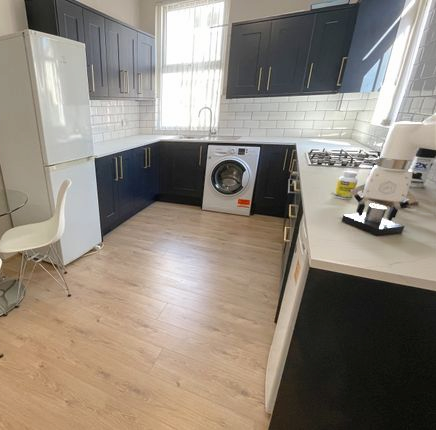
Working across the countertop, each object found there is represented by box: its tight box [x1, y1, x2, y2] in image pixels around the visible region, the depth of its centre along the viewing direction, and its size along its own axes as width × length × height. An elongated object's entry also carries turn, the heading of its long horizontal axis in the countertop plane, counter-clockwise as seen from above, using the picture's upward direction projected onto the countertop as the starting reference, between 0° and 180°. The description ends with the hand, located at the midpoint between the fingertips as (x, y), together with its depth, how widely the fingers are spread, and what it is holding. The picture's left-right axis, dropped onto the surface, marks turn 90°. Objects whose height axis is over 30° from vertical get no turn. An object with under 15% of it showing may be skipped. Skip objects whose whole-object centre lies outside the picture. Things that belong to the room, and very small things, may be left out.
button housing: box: [367, 197, 420, 209], centre depth 116 cm, size 12×10×4 cm
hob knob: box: [364, 203, 388, 223], centre depth 93 cm, size 4×4×5 cm
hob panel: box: [340, 212, 405, 237], centre depth 94 cm, size 12×10×3 cm
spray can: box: [410, 148, 436, 188], centre depth 134 cm, size 7×7×20 cm
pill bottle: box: [333, 170, 359, 200], centre depth 121 cm, size 6×6×12 cm
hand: (374, 216), depth 93 cm, fingers open, 6 cm apart
